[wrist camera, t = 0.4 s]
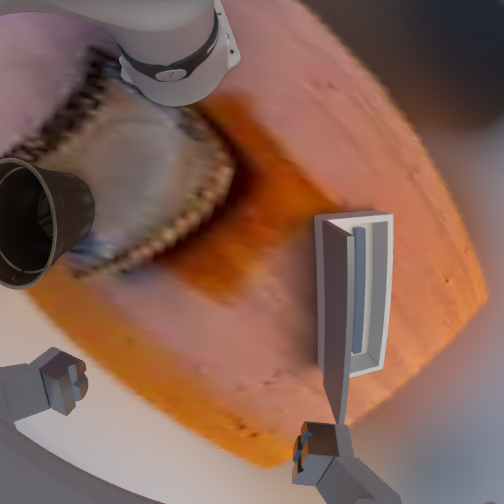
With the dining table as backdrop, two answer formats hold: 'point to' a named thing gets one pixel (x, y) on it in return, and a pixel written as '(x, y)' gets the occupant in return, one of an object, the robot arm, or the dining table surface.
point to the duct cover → (338, 315)
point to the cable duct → (362, 285)
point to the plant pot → (38, 220)
